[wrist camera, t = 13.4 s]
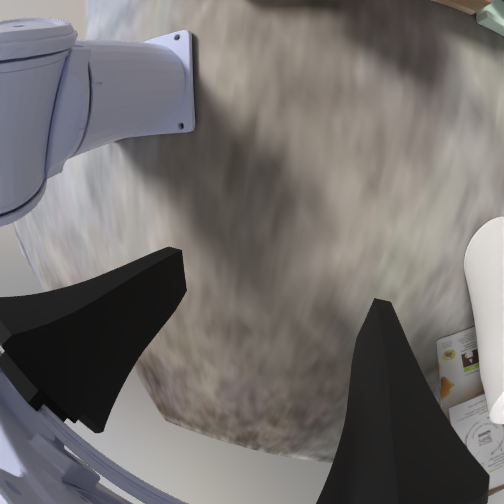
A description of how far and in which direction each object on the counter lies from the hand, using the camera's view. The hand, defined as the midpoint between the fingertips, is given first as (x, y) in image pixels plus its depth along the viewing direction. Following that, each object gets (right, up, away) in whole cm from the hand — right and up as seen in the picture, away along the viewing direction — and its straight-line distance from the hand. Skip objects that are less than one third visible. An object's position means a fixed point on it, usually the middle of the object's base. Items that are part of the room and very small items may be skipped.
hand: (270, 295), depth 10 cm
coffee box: (+21, -9, +11) cm, 25 cm away
